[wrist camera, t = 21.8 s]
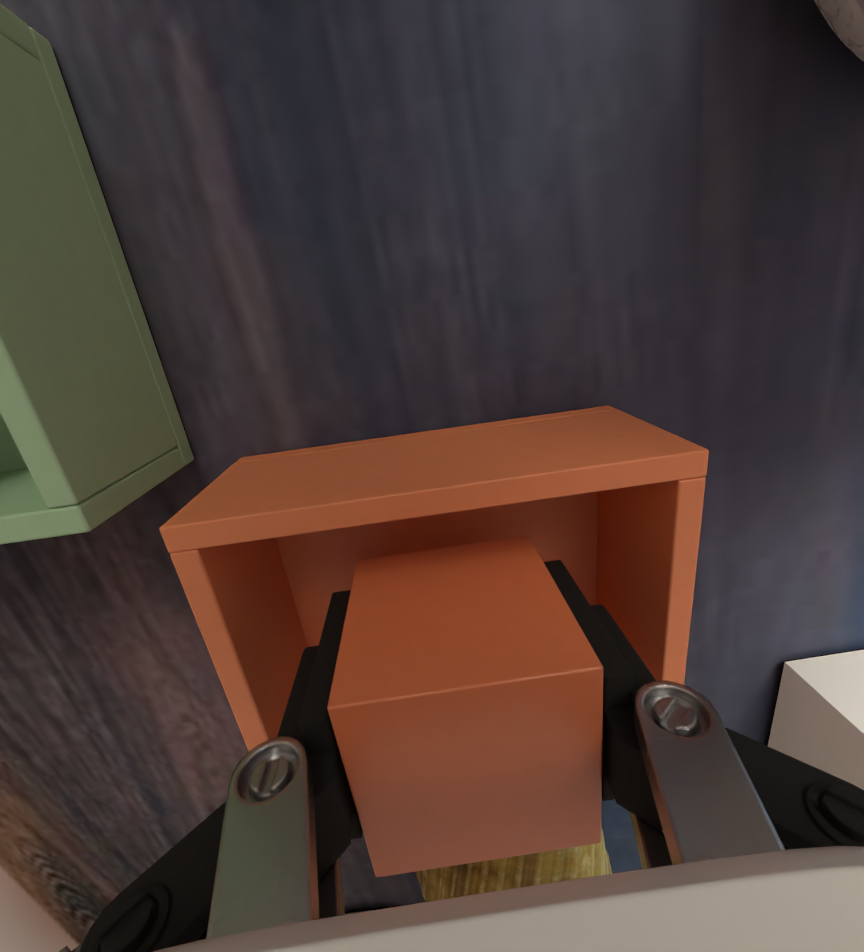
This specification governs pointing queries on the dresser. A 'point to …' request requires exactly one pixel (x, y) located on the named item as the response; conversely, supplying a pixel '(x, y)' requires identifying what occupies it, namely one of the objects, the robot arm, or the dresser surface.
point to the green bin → (68, 322)
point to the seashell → (515, 872)
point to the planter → (846, 22)
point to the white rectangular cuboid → (823, 714)
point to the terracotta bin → (438, 533)
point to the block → (467, 709)
